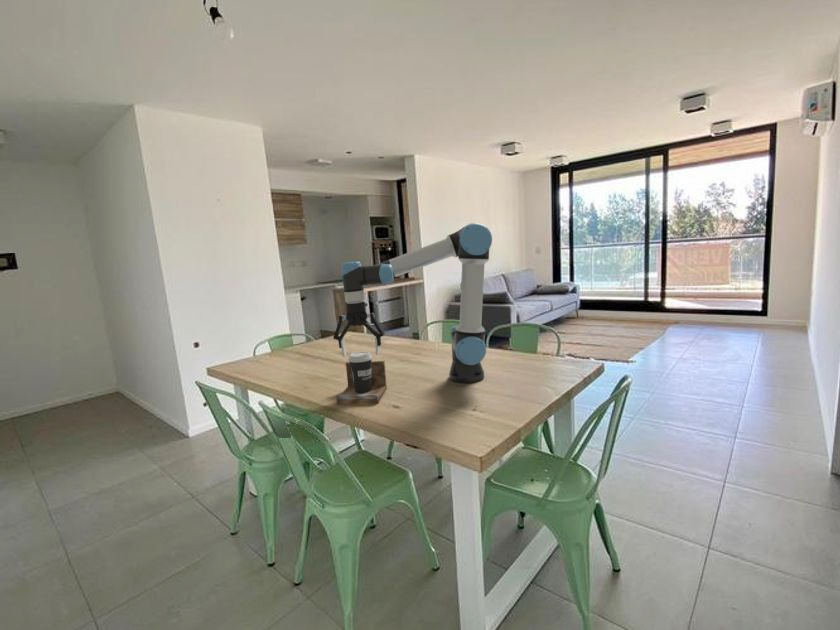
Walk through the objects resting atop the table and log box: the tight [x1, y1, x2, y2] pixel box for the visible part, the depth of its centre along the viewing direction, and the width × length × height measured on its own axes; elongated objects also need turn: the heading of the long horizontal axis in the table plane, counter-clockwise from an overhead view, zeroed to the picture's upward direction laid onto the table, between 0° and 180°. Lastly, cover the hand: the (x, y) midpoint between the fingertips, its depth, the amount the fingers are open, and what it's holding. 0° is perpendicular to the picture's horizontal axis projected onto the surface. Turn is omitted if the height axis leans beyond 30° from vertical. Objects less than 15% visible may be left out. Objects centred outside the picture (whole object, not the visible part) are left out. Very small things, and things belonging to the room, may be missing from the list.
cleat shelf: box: [335, 360, 388, 405], centre depth 168 cm, size 16×17×12 cm
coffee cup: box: [347, 351, 373, 393], centre depth 169 cm, size 10×10×15 cm
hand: (361, 355), depth 168 cm, fingers open, 13 cm apart
